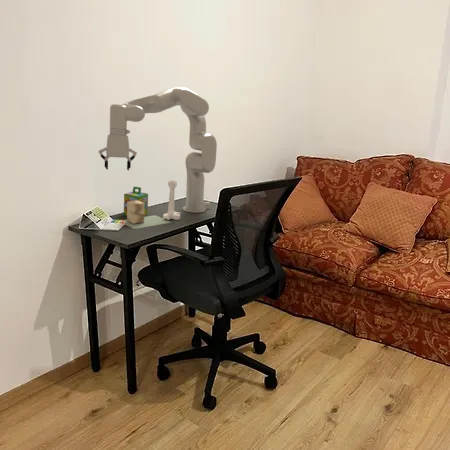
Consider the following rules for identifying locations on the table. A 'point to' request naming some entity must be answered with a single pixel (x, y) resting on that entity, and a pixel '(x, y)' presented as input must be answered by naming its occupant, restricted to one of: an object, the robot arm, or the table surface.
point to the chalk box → (134, 197)
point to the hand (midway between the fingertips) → (117, 169)
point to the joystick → (171, 203)
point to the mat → (148, 222)
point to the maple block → (135, 212)
